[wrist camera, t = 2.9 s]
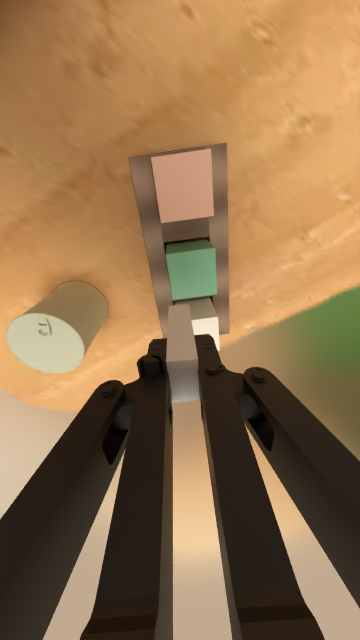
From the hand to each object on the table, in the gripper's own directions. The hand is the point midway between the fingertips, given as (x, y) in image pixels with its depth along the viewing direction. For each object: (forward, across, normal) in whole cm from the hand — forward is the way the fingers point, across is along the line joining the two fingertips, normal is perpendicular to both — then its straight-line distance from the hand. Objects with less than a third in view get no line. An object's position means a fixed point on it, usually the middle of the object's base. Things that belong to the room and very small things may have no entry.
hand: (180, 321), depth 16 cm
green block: (+16, +2, +1) cm, 17 cm away
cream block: (+17, +2, -7) cm, 18 cm away
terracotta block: (+16, +1, +9) cm, 19 cm away
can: (+20, -17, -6) cm, 27 cm away
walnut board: (+19, +2, +1) cm, 20 cm away
